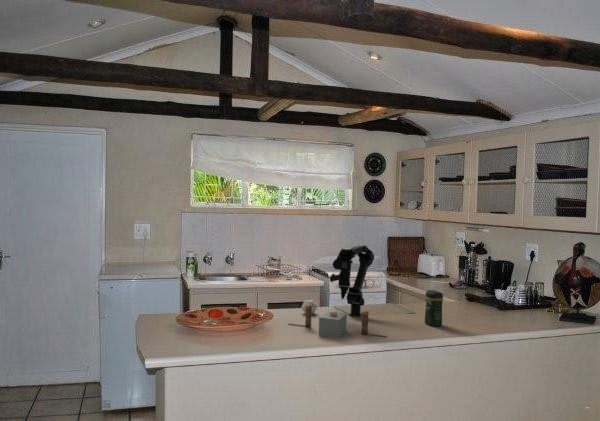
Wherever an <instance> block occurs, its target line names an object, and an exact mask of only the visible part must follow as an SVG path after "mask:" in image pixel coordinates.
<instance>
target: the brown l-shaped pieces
mask: <svg viewBox="0 0 600 421" xmlns="http://www.w3.org/2000/svg"><path fill="white" fill-rule="evenodd" d="M305 308H306V314H305V323H304V324H298V323H288V324H287V325H290V326H297V327H304V328H309V329H310V328H312V314H311V313H312V305H306V307H305ZM361 313H362V315H361V335H363V336H372V337H374V336H375V337H379V338H380V337H381V338H387V335H383V334H374V333H368V332H369V331H368V330H369V329H368V328H369V311H367V310H361Z"/></svg>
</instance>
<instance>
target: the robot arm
mask: <svg viewBox="0 0 600 421" xmlns="http://www.w3.org/2000/svg"><path fill="white" fill-rule="evenodd" d="M356 255H357V256H358V262H359V267H358V271H357V274H356V277H355V279H354V280H355V281H354V283H353V286H352V287H351V271H352V264H354V262H353V259H354V258H356ZM374 260H375V254H374V253H373V251H372V250H371V249H370V248H368V246H367V245H365V244H359V245H357V246H354V247H342V248H341V249H340V250H339V253H338V255H337V256H336V258H335V259H334V260H333V261H332V267H333V269H335V270H340V271H339V274H335V273H332V274H331V275H330V276H329V278H328V279H329V281H330V283H333V282H336V281H338V282H337V283H338V285H337V286H338V288H339V289H340V297H341V299H342V300H344V299H345V297H346V301H347V304H348V305H350V313H348V315H349V316H355V317H362V310H361V307H362V306H364V305H365V299H364V294H363V291H362V290H363V285H364V281H365V278H366V275H367V271H368V268H369V267H370V266H372V264H373V262H374Z"/></svg>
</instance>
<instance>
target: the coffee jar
mask: <svg viewBox="0 0 600 421" xmlns="http://www.w3.org/2000/svg"><path fill="white" fill-rule="evenodd" d="M443 301H444V294H443V293H442V292H440V291H437V290H434V289H428V290H426V291H425V309H424V310H425V311H424V324H427V325H428V326H433V327H440V326H442V325H443Z"/></svg>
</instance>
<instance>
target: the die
mask: <svg viewBox="0 0 600 421" xmlns="http://www.w3.org/2000/svg"><path fill="white" fill-rule="evenodd" d="M306 305H312V313H311V315H314V314H315V313H316V310H317V308H318V304H316V302H315V301H314V299H304V301H303V303H302V305H301V310H302V311H303V313H304V314H305V315H306V308H305V307H306Z"/></svg>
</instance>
